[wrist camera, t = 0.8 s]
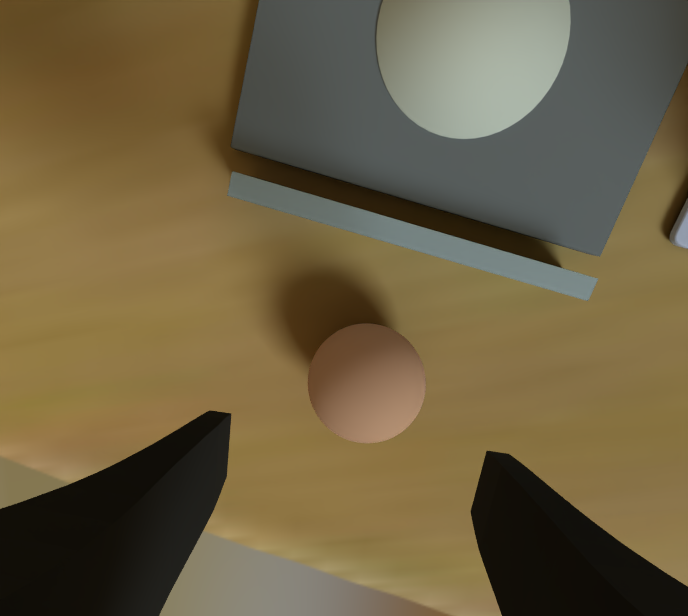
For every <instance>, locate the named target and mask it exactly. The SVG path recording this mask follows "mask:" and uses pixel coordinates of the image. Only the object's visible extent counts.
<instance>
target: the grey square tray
mask: <svg viewBox="0 0 688 616" xmlns="http://www.w3.org/2000/svg"><path fill="white" fill-rule="evenodd" d="M227 196H231V197H234V198H237V199H241V200H244V201H248V202H251V203H255V204H258V205H261V206H265V207H268V208H272V209H275V210H279V211H282V212H285V213H289V214H292V215H296V216H299V217H302V218H306V219H309V220H313V221H316V222H320V223H323V224H326V225H330V226H333V227H337V228H340V229H344V230H347V231H350V232H354V233H357V234H361V235H364V236H368V237H371V238H374V239H378V240H381V241H385V242H388V243H391V244H395V245H398V246H402V247H405V248H409V249H412V250H415V251H419V252H422V253H426V254H429V255H433V256H436V257H439V258H443V259H446V260H450V261H453V262H456V263H460V264H463V265H467V266H470V267H474V268H477V269H480V270H484V271H487V272H491V273H494V274H498V275H501V276H504V277H508V278H511V279H515V280H518V281H521V282H525V283H528V284H532V285H535V286H539V287H542V288H545V289H549V290H552V291H556V292H559V293H563V294H566V295H569V296H573V297H576V298H580V299H583V300H587V301H588V300H589V298H590V296H591V293H592V291H593V289H594V287H595V285H596V283H597V280H598V279H597V278H593V277H590V276H587V275H584V274H580V273H577V272H574V271H570V270H567V269H564V268H560V267H557V266H554V265H550V264H547V263H543V262H540V261H537V260H533V259H530V258H526V257H523V256H520V255H516V254H513V253H510V252H506V251H503V250H499V249H496V248H493V247H489V246H486V245H482V244H479V243H476V242H472V241H469V240H465V239H462V238H459V237H455V236H452V235H448V234H445V233H442V232H438V231H435V230H431V229H428V228H425V227H421V226H418V225H414V224H411V223H408V222H404V221H401V220H397V219H394V218H391V217H387V216H384V215H380V214H377V213H374V212H370V211H367V210H363V209H360V208H357V207H353V206H350V205H346V204H343V203H340V202H336V201H333V200H330V199H326V198H323V197H319V196H316V195H313V194H309V193H306V192H302V191H299V190H296V189H292V188H289V187H285V186H282V185H279V184H275V183H272V182H268V181H265V180H262V179H258V178H255V177H251V176H248V175H244V174H240V173H237V172H233V171H232V175H231V180H230V185H229V190H228V195H227Z"/></svg>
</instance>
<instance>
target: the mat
mask: <svg viewBox="0 0 688 616" xmlns="http://www.w3.org/2000/svg"><path fill="white" fill-rule="evenodd" d="M687 64H688V0H259V4H258V9H257V14H256V19H255V24H254V30H253V35H252V40H251V45H250V50H249V55H248V60H247V65H246V70H245V76H244V81H243V86H242V91H241V96H240V101H239V106H238V111H237V116H236V122H235V127H234V132H233V137H232V142H231V147H232V148H234V149H236V150H240V151H243V152H246V153H250V154H253V155H256V156H260V157H263V158H267V159H270V160H273V161H277V162H280V163H283V164H287V165H290V166H294V167H297V168H300V169H304V170H307V171H310V172H314V173H317V174H321V175H324V176H327V177H331V178H334V179H337V180H341V181H344V182H348V183H351V184H354V185H358V186H361V187H364V188H368V189H371V190H375V191H378V192H381V193H385V194H388V195H391V196H395V197H398V198H402V199H405V200H408V201H412V202H415V203H418V204H422V205H425V206H429V207H432V208H435V209H439V210H442V211H445V212H449V213H452V214H456V215H459V216H462V217H466V218H469V219H472V220H476V221H479V222H482V223H486V224H489V225H493V226H496V227H499V228H503V229H506V230H509V231H513V232H516V233H520V234H523V235H526V236H530V237H533V238H536V239H540V240H543V241H547V242H550V243H553V244H557V245H560V246H563V247H567V248H570V249H574V250H577V251H580V252H584V253H587V254H590V255H595V256H600V255H601V253H602V251H603V249H604V247H605V244H606V242H607V240H608V238H609V236H610V233H611V231H612V229H613V227H614V225H615V222H616V220H617V218H618V216H619V213H620V211H621V209H622V207H623V205H624V202H625V200H626V198H627V196H628V194H629V191H630V189H631V187H632V185H633V183H634V180H635V178H636V176H637V174H638V172H639V169H640V167H641V165H642V163H643V161H644V158H645V156H646V154H647V152H648V150H649V147H650V145H651V143H652V141H653V139H654V136H655V134H656V132H657V130H658V127H659V125H660V123H661V121H662V119H663V116H664V114H665V112H666V110H667V108H668V105H669V103H670V101H671V99H672V97H673V94H674V92H675V90H676V88H677V86H678V83H679V81H680V79H681V77H682V75H683V72H684V70H685V68H686V66H687Z"/></svg>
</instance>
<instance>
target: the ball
mask: <svg viewBox="0 0 688 616" xmlns="http://www.w3.org/2000/svg"><path fill="white" fill-rule="evenodd" d="M425 389H426V378H425V372H424V368H423V364H422V361H421V359H420V357H419V355H418V353H417V352H416V350H415V349H414V347H413V346H412V345H411V344H410V342H409V341H408V340H407V339H405V338H404V337H403V336H402V335H400V334H399V333H397V332H396V331H394V330H392V329H390V328H388V327H385V326H382V325H377V324H370V323H363V324H355V325H351V326H347V327H345V328H342V329H340V330H338V331H337V332H335V333H333V334H332V335H331V336H330V337H328V338H327V339H326V340H325V341H324V342H323V343H322V344H321V346H320V347H319V348H318V350H317V352H316V353H315V355H314V357H313V359H312V362H311V365H310V369H309V374H308V391H309V396H310V401H311V403H312V406H313V408H314V410H315V412H316V414H317V416H318V417H319V418H320V420H321V421H322V422H323V423H324V424H325V425H326V427H328V428H329V429H330V430H331V431H332V432H334V433H335V434H337V435H338V436H340V437H342V438H344V439H347V440H350V441H354V442H359V443H376V442H381V441H385V440H388V439H390V438H393V437H394V436H396V435H398V434H399V433H401V432H402V431H404V430H405V429H406V428H407V427H408V426H409V425H410V424H411V423H412V422H413V420H414V419H415V418H416V416H417V414H418V413H419V410H420V408H421V406H422V404H423V400H424V396H425Z"/></svg>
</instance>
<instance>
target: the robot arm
mask: <svg viewBox="0 0 688 616" xmlns="http://www.w3.org/2000/svg"><path fill="white" fill-rule="evenodd" d="M670 241H671V243H672V244H674V245H676V246H679V247H683V248H686V249H688V198H687V200H686V202H685V204H684V206H683V208H682V210H681V212H680V214H679V216H678V219H677V221H676V223H675V225H674V227H673V229H672V231H671V233H670ZM230 424H231V413H224V412H217V411H208V412H206V413H204V414H202V415H201V416H199V417H197V418H196V419H194V420H193V421H191V422H189V423H188V424H186V425H184V426H183V427H181V428H179V429H178V430H176V431H174V432H173V433H171V434H169V435H168V436H166V437H164V438H163V439H161V440H159V441H157V442H156V443H154V444H152V445H150V446H148V447H147V448H145V449H143V450H141V451H139V452H137V453H135V454H133V455H132V456H130V457H128V458H126V459H124V460H122V461H120V462H118V463H116V464H114V465H112V466H110V467H108V468H106V469H104V470H102V471H99V472H97V473H95V474H93V475H90V476H88V477H86V478H83V479H81V480H79V481H76V482H74V483H72V484H69V485H67V486H64V487H61V488H59V489H56V490H53V491H50V492H48V493H45V494H42V495H39V496H37V497H34V498H31V499H28V500H26V501H23V502H20V503H17V504H14V505H11V506H8V507H5V508H2V509H0V616H159V614H160V612H161V610H162V608H163V606H164V604H165V602H166V600H167V598H168V596H169V593H170V592H171V590H172V588H173V586H174V584H175V582H176V580H177V579H178V577H179V575H180V573H181V571H182V569H183V567H184V565H185V563H186V561H187V560H188V558H189V556H190V554H191V552H192V550H193V549H194V547H195V545H196V543H197V541H198V539H199V537H200V535H201V533H202V532H203V530H204V528H205V526H206V524H207V522H208V520H209V518H210V516H211V514H212V512H213V510H214V508H215V505H216V503H217V500H218V498H219V495H220V493H221V490H222V487H223V485H224V482H225V479H226V477H227V465H228V451H229V438H230ZM471 516H472V521H473V526H474V531H475V535H476V539H477V544H478V548H479V551H480V554H481V557H482V560H483V563H484V566H485V569H486V572H487V575H488V577H489V580H490V583H491V586H492V589H493V591H494V594H495V597H496V600H497V603H498V605H499V608H500V611H501V614H502V616H688V587H687V586H686V585H684V584H683V583H681V582H679V581H678V580H676V579H675V578H673V577H671V576H670V575H668V574H667V573H665V572H664V571H662V570H661V569H659V568H658V567H656V566H655V565H653V564H652V563H650V562H649V561H647V560H646V559H644V558H643V557H641V556H640V555H638V554H637V553H635V552H634V551H632V550H631V549H629V548H628V547H627V546H625V545H624V544H622V543H621V542H620V541H618V540H617V539H615V538H614V537H613V536H611V535H610V534H609V533H607V532H606V531H605V530H603V529H602V528H601V527H599V526H598V525H597V524H595V523H594V522H593V521H591V520H590V519H589V518H588V517H586V516H585V515H584V514H583V513H581V512H580V511H579V510H577V509H576V508H575V507H574V506H573V505H571V504H570V503H569V502H568V501H566V500H565V499H564V498H563V497H562V496H560V495H559V494H558V493H557V492H555V491H554V490H553V489H552V488H551V487H549V486H548V485H547V484H546V483H545V482H543V481H542V480H541V479H540V478H539V477H537V476H536V475H535V474H534V473H533V472H531V471H530V470H529V469H528V468H527V467H525V466H524V465H523V464H522V463H520V462H519V461H518V460H516V459H515V458H514V457H512V456H511V455H509V454H506V453H499V452H492V451H487V452H486V456H485V459H484V463H483V467H482V471H481V475H480V478H479V482H478V486H477V490H476V493H475V497H474V501H473V505H472V509H471Z"/></svg>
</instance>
